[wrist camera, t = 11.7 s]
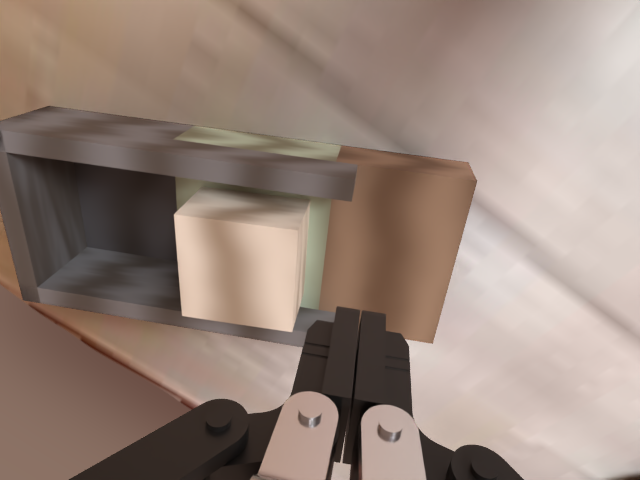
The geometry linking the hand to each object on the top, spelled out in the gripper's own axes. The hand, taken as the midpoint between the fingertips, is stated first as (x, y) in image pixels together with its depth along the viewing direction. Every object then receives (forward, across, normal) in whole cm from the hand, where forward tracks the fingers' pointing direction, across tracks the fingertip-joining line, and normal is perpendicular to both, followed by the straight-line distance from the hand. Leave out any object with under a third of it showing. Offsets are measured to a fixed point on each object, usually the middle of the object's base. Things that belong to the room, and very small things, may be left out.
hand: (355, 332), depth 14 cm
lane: (+23, +10, +8) cm, 26 cm away
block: (+19, +8, +8) cm, 22 cm away
